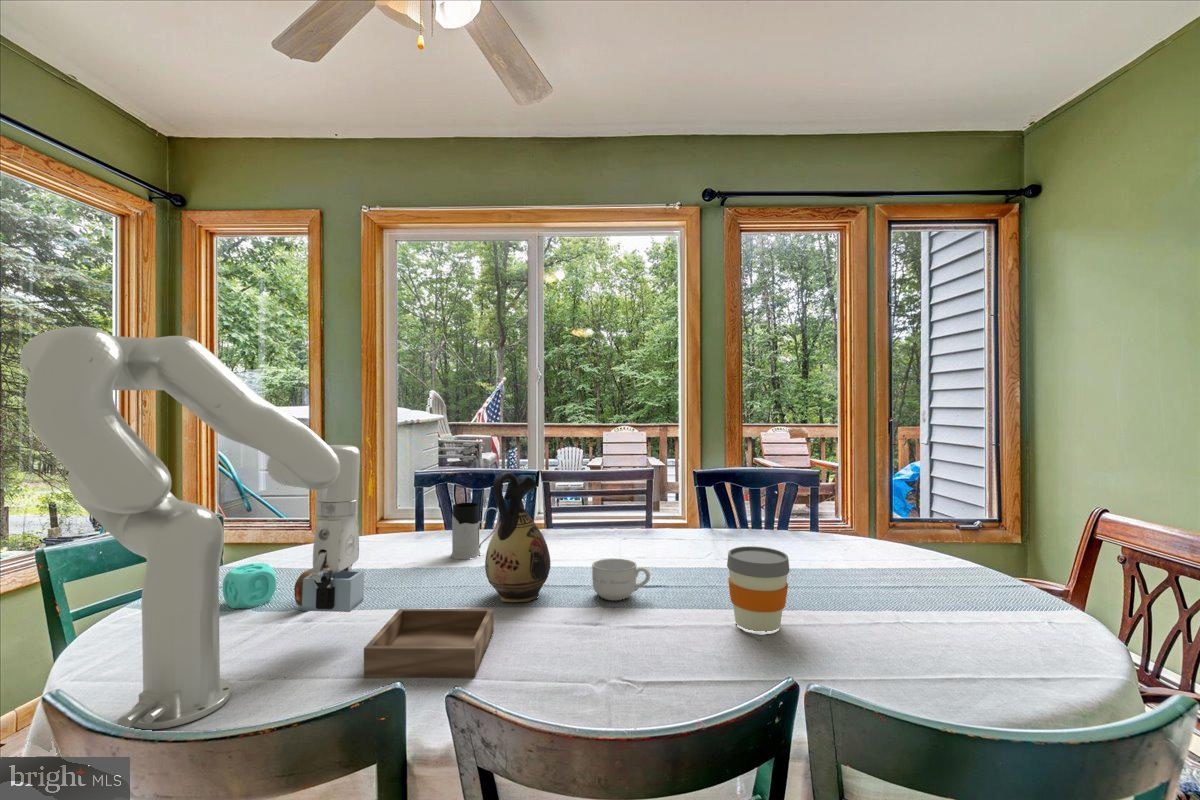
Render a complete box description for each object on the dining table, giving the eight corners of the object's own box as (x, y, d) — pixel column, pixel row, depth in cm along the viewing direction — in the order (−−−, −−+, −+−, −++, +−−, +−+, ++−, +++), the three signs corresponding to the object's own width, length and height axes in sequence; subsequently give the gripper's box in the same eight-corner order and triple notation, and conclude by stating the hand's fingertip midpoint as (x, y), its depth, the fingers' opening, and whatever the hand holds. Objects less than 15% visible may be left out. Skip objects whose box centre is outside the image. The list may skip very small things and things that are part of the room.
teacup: (583, 599, 130) (583, 565, 129) (604, 585, 139) (604, 553, 139) (638, 610, 123) (638, 575, 123) (656, 594, 133) (656, 561, 133)
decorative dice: (258, 593, 133) (258, 560, 133) (277, 600, 129) (276, 566, 129) (222, 604, 126) (221, 570, 126) (240, 612, 122) (240, 576, 122)
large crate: (474, 677, 94) (474, 648, 94) (363, 677, 94) (363, 648, 94) (493, 633, 111) (493, 608, 111) (399, 633, 111) (399, 608, 111)
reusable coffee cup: (746, 642, 108) (746, 566, 107) (716, 617, 120) (716, 548, 119) (802, 635, 111) (802, 561, 111) (767, 611, 123) (767, 544, 123)
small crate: (349, 612, 104) (351, 579, 104) (301, 610, 104) (303, 578, 104) (363, 601, 110) (364, 570, 110) (317, 599, 110) (319, 569, 110)
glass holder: (450, 552, 167) (450, 503, 167) (497, 548, 171) (497, 500, 171) (451, 561, 159) (451, 509, 158) (501, 556, 163) (501, 506, 163)
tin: (303, 614, 121) (303, 576, 121) (291, 613, 122) (291, 575, 122) (348, 589, 136) (347, 555, 136) (336, 589, 136) (336, 555, 136)
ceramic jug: (519, 580, 142) (519, 464, 142) (563, 594, 133) (563, 470, 132) (465, 599, 129) (465, 472, 129) (509, 617, 120) (509, 479, 119)
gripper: (335, 518, 98) (331, 619, 98) (374, 502, 116) (371, 588, 115) (293, 516, 98) (289, 618, 98) (338, 501, 116) (335, 587, 115)
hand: (333, 601), depth 107 cm, fingers closed on small crate, 6 cm apart
